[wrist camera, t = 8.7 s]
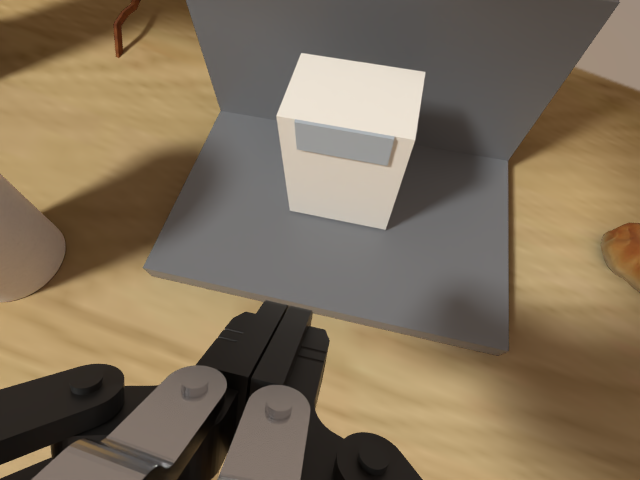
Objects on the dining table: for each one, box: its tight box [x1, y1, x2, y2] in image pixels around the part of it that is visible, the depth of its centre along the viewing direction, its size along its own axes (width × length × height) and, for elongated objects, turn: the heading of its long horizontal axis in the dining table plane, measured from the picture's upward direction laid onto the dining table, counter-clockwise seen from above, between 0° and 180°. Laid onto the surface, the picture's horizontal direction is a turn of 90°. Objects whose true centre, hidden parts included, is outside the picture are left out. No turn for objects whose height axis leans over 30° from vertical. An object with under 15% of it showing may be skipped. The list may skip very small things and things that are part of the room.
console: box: [143, 0, 620, 356], centre depth 23 cm, size 24×20×14 cm
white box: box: [276, 53, 425, 230], centre depth 23 cm, size 7×5×9 cm
